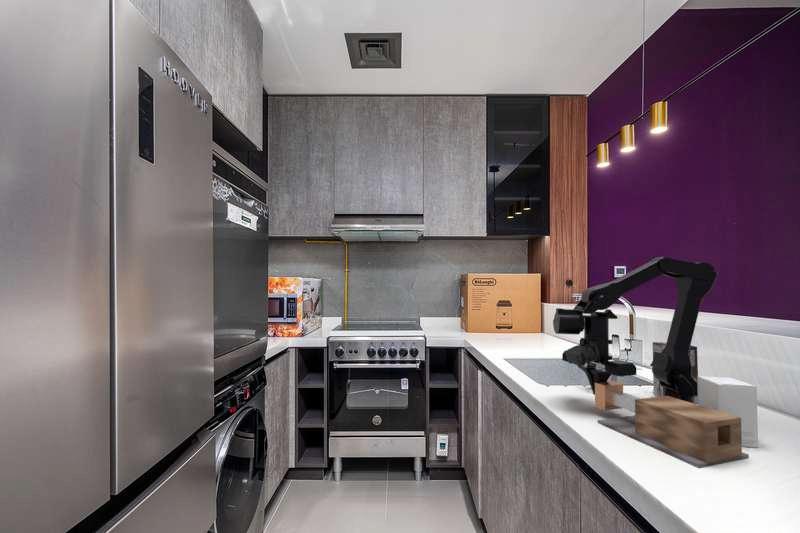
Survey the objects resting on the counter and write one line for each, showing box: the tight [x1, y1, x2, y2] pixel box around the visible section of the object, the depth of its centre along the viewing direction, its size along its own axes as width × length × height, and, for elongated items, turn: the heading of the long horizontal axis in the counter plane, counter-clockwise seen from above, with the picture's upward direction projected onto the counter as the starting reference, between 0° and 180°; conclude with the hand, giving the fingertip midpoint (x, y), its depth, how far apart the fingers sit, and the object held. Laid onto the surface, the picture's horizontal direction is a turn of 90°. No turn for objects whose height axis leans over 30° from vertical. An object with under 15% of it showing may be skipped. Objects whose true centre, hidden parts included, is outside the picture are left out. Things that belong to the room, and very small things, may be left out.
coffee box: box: [652, 341, 699, 405], centre depth 107 cm, size 9×6×16 cm
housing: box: [597, 396, 750, 469], centre depth 79 cm, size 22×14×8 cm, turn 19°
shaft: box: [594, 380, 642, 413], centre depth 84 cm, size 20×6×6 cm, turn 19°
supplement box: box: [697, 375, 759, 449], centre depth 79 cm, size 7×7×13 cm
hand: (596, 395), depth 96 cm, fingers closed
